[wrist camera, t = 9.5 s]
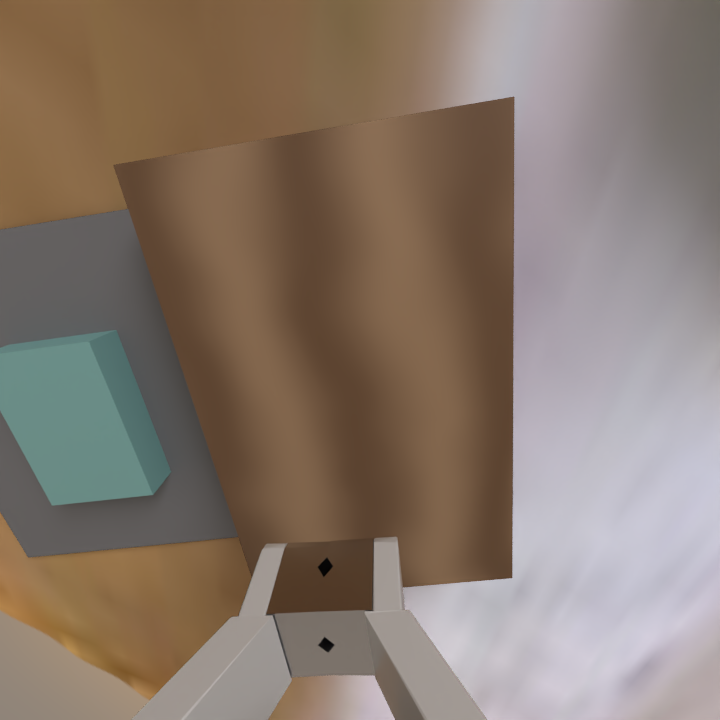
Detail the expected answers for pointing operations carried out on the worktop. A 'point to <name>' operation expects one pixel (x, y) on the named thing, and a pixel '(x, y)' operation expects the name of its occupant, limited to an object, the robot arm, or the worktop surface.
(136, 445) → the teal block
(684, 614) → the worktop surface
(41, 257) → the grey mat
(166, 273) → the board
